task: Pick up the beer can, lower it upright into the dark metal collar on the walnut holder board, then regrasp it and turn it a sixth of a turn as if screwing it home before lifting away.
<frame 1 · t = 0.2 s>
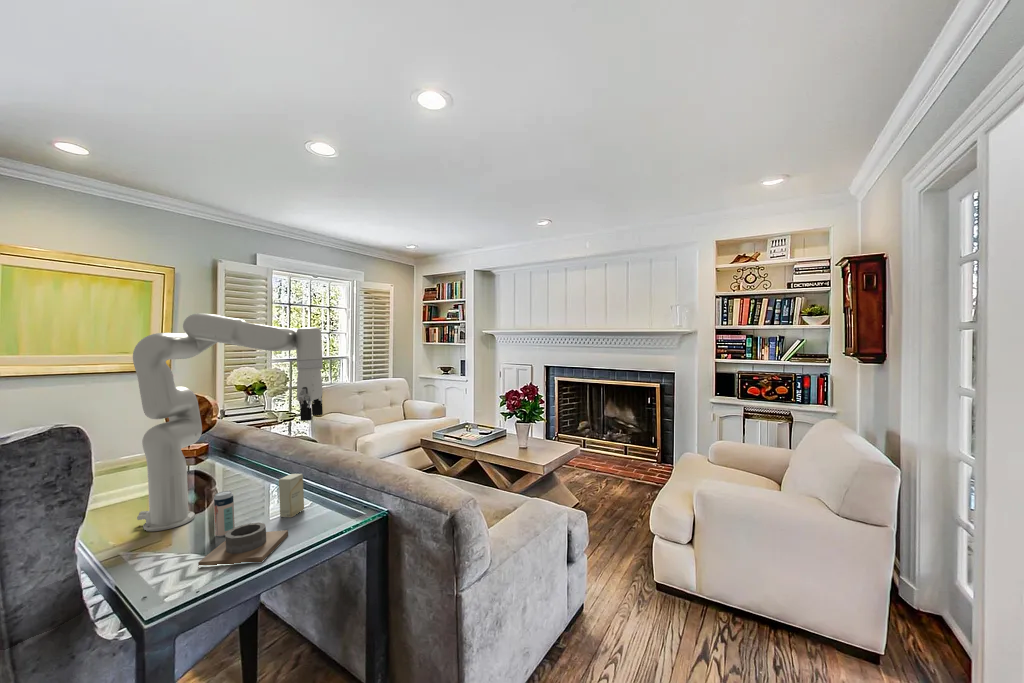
hand: (312, 417, 136), 31 cm above the table, tool pointing down, fingers open, 9 cm apart
can holder: (246, 550, 112), on the table
beer can: (225, 534, 123), on the table
skincare box: (292, 514, 136), on the table
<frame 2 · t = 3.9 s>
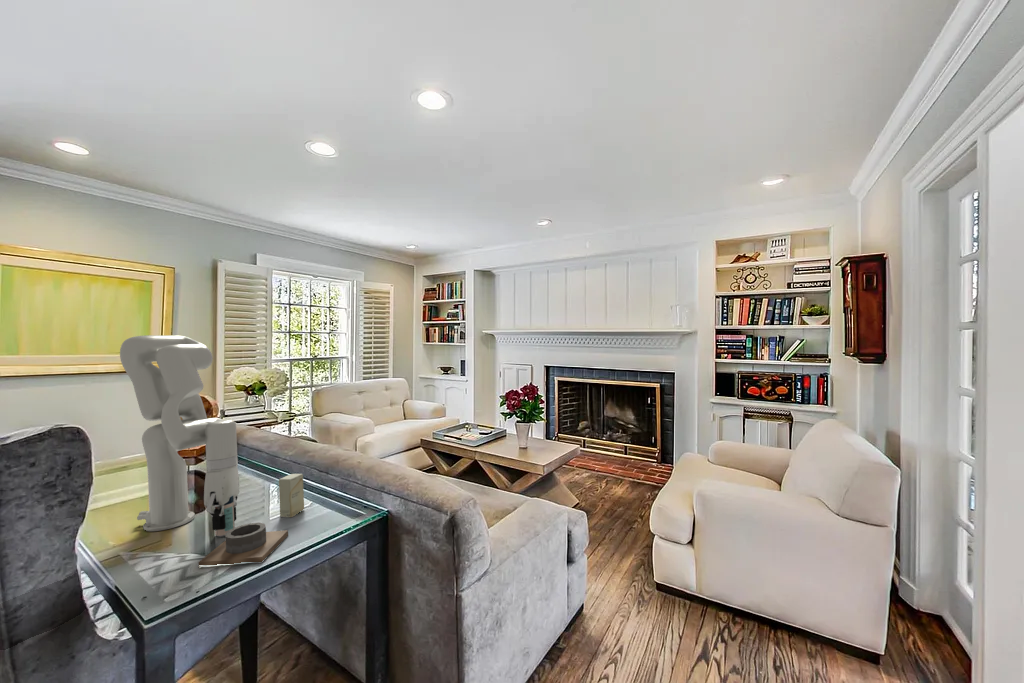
hand: (224, 524, 123), 3 cm above the table, tool pointing down, fingers closed on beer can, 4 cm apart
beer can: (225, 534, 123), on the table, touching gripper
everything else where it was.
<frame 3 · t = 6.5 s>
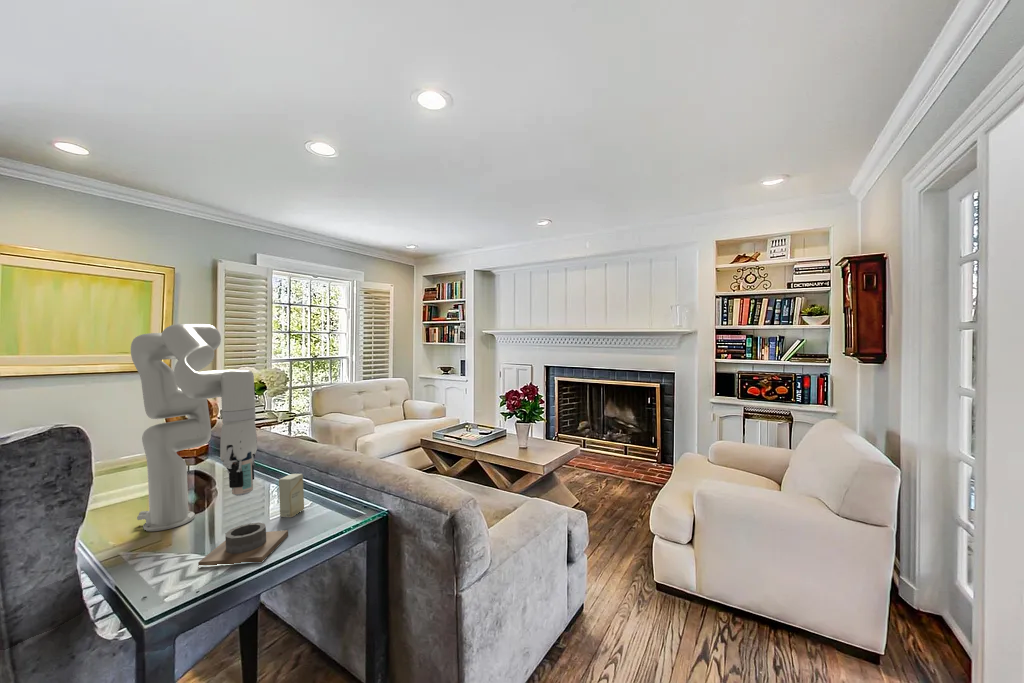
hand: (242, 482, 113), 18 cm above the table, tool pointing down, fingers closed on beer can, 4 cm apart
beer can: (242, 493, 113), point 15 cm above the table, touching gripper
everything else where it was.
when the fingers open (7 cm above the table, at t = 9.1 s): beer can drops 2 cm, resting on can holder.
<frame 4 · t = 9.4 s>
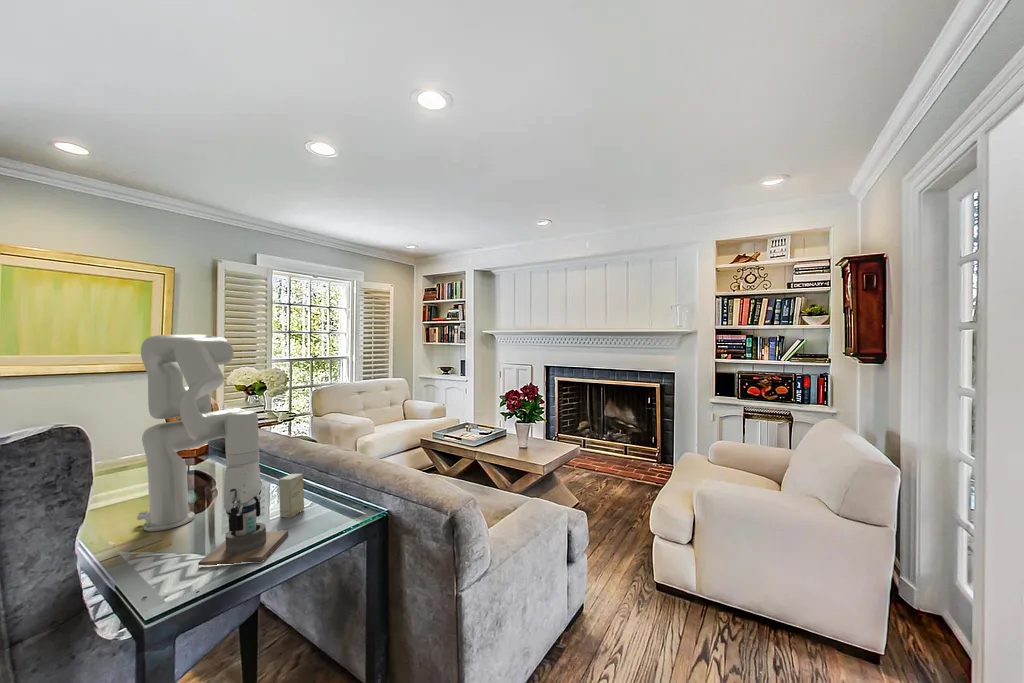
hand: (245, 522, 112), 7 cm above the table, tool pointing down, fingers open, 8 cm apart
beer can: (246, 545, 112), point 1 cm above the table, touching can holder
everything else where it was.
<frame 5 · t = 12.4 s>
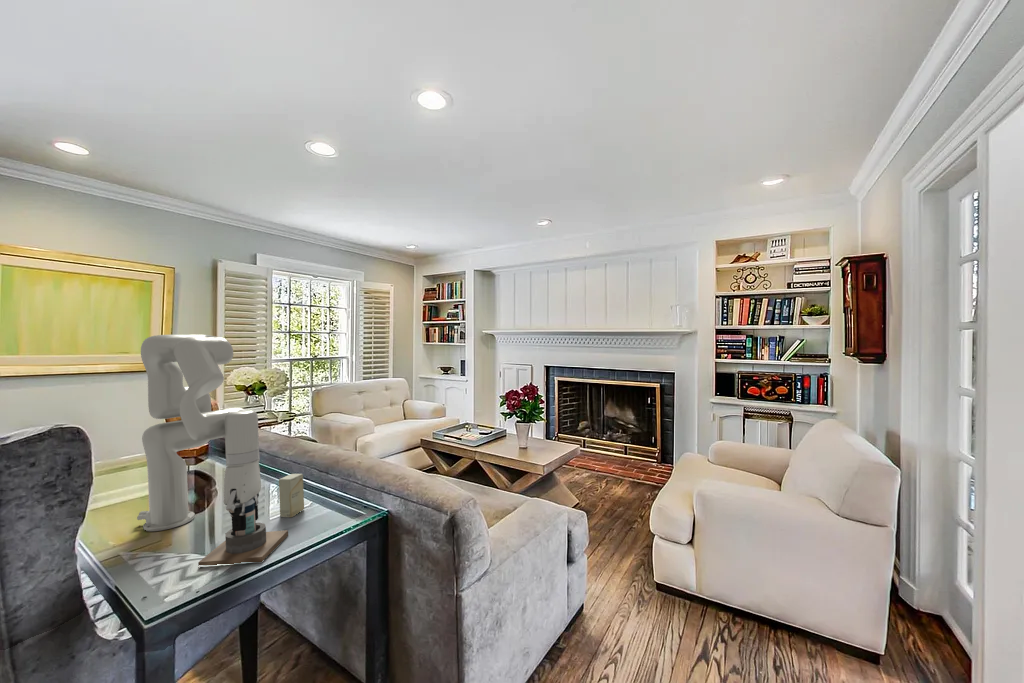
hand: (245, 524, 112), 7 cm above the table, tool pointing down, fingers open, 5 cm apart
beer can: (246, 545, 112), point 1 cm above the table, touching can holder, gripper
everything else where it was.
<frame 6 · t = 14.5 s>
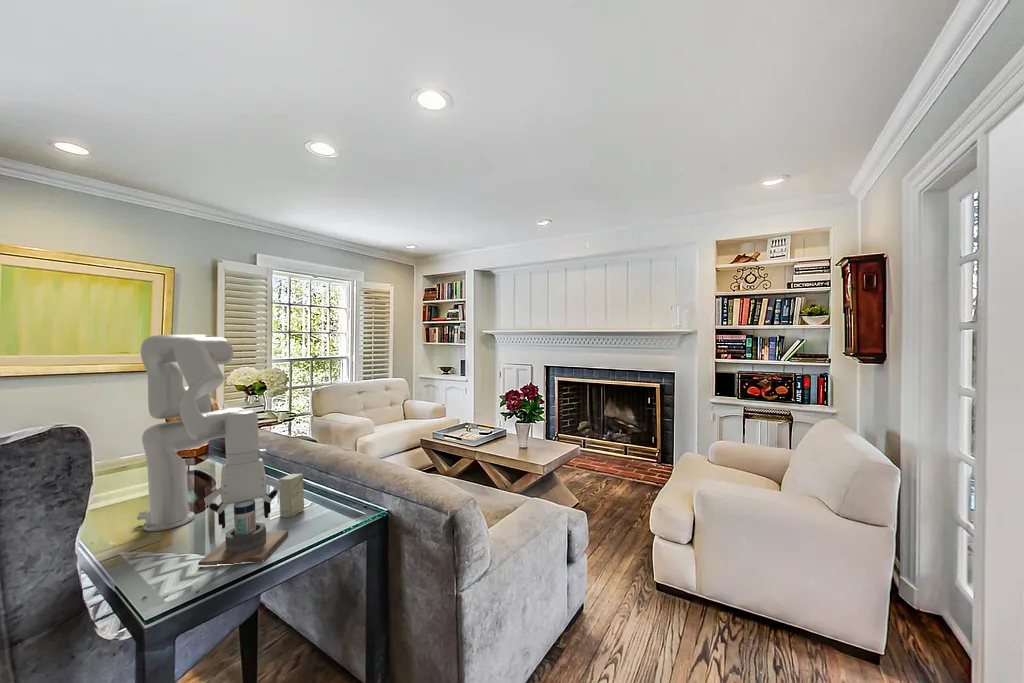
hand: (245, 521, 112), 8 cm above the table, tool pointing down, fingers open, 9 cm apart
beer can: (246, 545, 112), point 1 cm above the table, touching can holder
everything else where it was.
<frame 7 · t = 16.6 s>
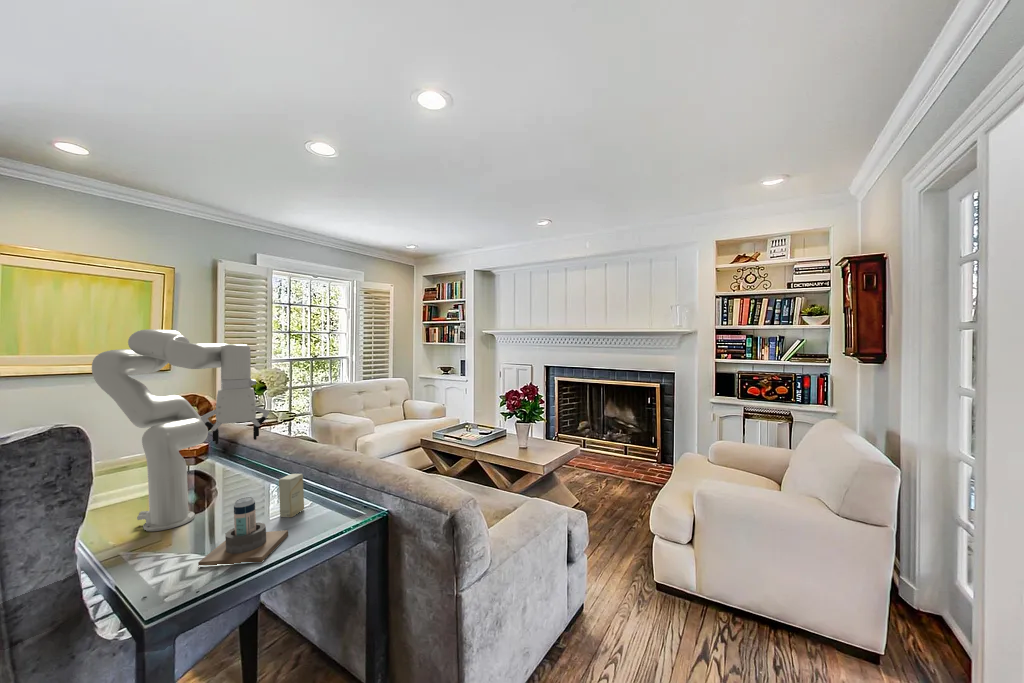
hand: (236, 441, 127), 26 cm above the table, tool pointing down, fingers open, 9 cm apart
nothing on the table moved.
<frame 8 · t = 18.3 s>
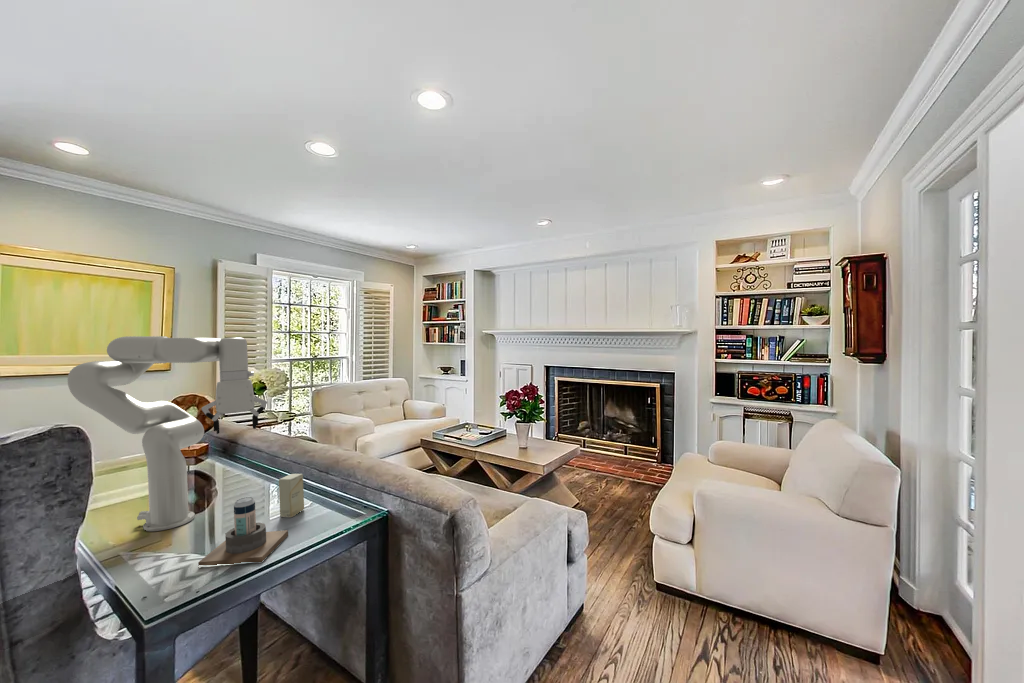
hand: (236, 430, 132), 28 cm above the table, tool pointing down, fingers open, 9 cm apart
nothing on the table moved.
at the end: beer can 0.3 cm off-centre on the can holder, point 1.3 cm above the can holder's base; beer can tilted 0°; the gripper is holding nothing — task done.
